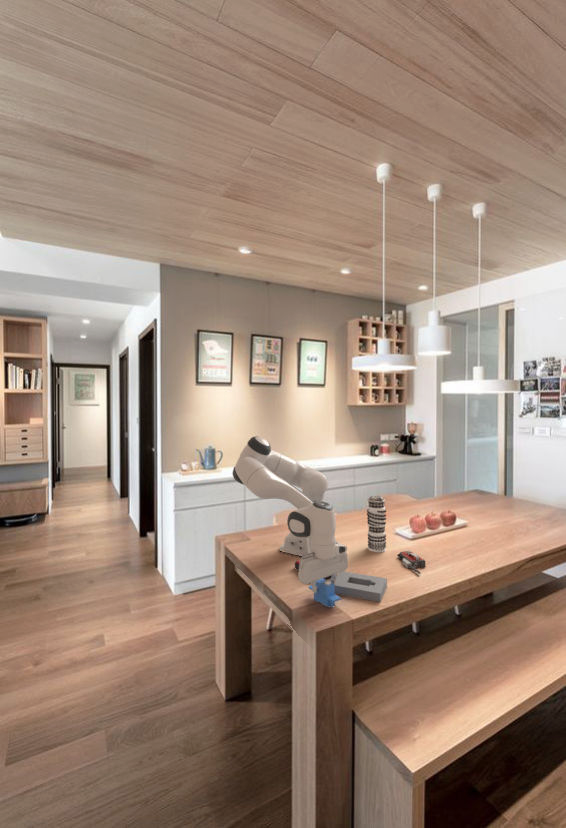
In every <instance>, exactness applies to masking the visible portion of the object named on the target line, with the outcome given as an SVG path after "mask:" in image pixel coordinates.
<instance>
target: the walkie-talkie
mask: <svg viewBox="0 0 566 828" xmlns="http://www.w3.org/2000/svg"><path fill="white" fill-rule="evenodd" d="M396 556H397V557H398V559H399V560H401V561H402V565H403V566H404V567H405V568H406V569H411V570H413V572H416V573H417V574H419V575H421V573H422V572H421V571H419V570H418V569H417V568H425V567H426V560H425V559H424V558H422V557H420V556H419V554H417V553H415V552H413V551H411V550H404V551H400V552H399V553H398V554H397V555H396Z"/></svg>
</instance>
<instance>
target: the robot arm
mask: <svg viewBox="0 0 566 828" xmlns="http://www.w3.org/2000/svg"><path fill="white" fill-rule="evenodd" d="M231 474H232V476H233V479H234V480H235V481H236V482H237V483H239V484H241V485H244V486H245V488H247V489H248V490H249V491H250V493H252V494H253V495H254V496H256V497H258V498H260V499H266V500H267V499H269V500H270V499H273V500H274V499H275V500H277V499H278V500H283V501H286V502H288V503H289V504H290V505H292V506H293V507H294V508H296V509H295V510H293V511H292V512H290V513H289V514H288V516H287V521H286V525H287V527H288V530H289V533H288V534H286V536H285V538H284V540H283V543H282V544H281V545H280V546H279V549H280V550H281V551H284V552H287V553H291V554H295V555H299V556H302V557H300V559H299V560H300V562H299V563H300V564H299V572H298V571H297V572H298V573H297V574H298V575H297V576H298V580H299V582H300V583H302V584H304V585H308V584H310V586H312V590H311V591H312V593H313V594H314V593H317V592H319V587H317V586H316V585H315V584H316V581H317V580H320V579H323V578H325V577H328V576H331V575H332V576H331V578H330V581H331V583H333V584H334V586H335V581H336V579H337V576H338V574H339V573H340V572H342V571H344V572H346V571H347V569H348V567H349V559H348V558H349V557H348V552H347V550H348V547H347V546H346V545H345V544H343V543H341V542H338V541H337V539H336V535H335V533H336V528H337V526H336V525H337V523H336V512H335V509H334V507H333V505H332V504H330V503H329V502H325V501H324V500H325V494H326V491H327V490H328V488H329V481H328V478H327V477H326V476H325V475H324V473H323V472H321V471H319V470H317V469H314V468H311V467H310V466H307V465H306V464H303V463H301V462H300V461H297V460H296V459H293V458H291V457H289V456H287V455H284V454H283V453H280V452H278V451H276V450H273V449H272V446H271V444H270V442H268V440H266V439H265V438H264V437H260V436H257V435H256V436H252V437H251V438H249V439H248V440H247V444H246V445H245V447H244V448H243V449H242V451H241V453H240V454H239V457H238V459H237V461H236V463H235V466H234V467H233V470H232V473H231ZM300 489H301V490H300ZM287 553H286V554H287ZM291 554H290V555H291ZM295 555H294V556H295ZM299 556H298V557H299Z"/></svg>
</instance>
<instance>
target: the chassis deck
mask: <svg viewBox="0 0 566 828" xmlns="http://www.w3.org/2000/svg"><path fill="white" fill-rule="evenodd" d="M387 588H388V578H387V577H381V576H380V577H379V576H374V575H368V574H362V573H358V572H357V573H356V572H350V571H342V572H340V573H338V576H337V579H336V581H335V595H341V596H346V597H352V598H356V599H363V600H368V601H373V602H377V603H378V602H379V603H381V601H382V599H383V597H384V594H385V592H386V590H387Z"/></svg>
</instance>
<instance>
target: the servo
mask: <svg viewBox="0 0 566 828" xmlns="http://www.w3.org/2000/svg"><path fill="white" fill-rule="evenodd" d="M330 580H331V579H330ZM330 580H329V579H320V580H317V581H316V584H315V585H316V586H317V587H319V592H317V593H314V592H313V600H314V601H315V602H317V601H318V602H320V603H322V604H324V605H325V606H330V607H333V606H335V607H336V605H335V604H336V602H338V601H340V600H341V599H342V598H341V596H339V595H338V594H335V586H334V584H333V583H331V581H330ZM308 589H309V590H311V591H312V586H311V585H309V586H308ZM318 602H317V603H318ZM320 603H319V604H320ZM322 604H321V605H322ZM325 606H324V607H325ZM330 607H329V608H330ZM333 608H334V607H333Z"/></svg>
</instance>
